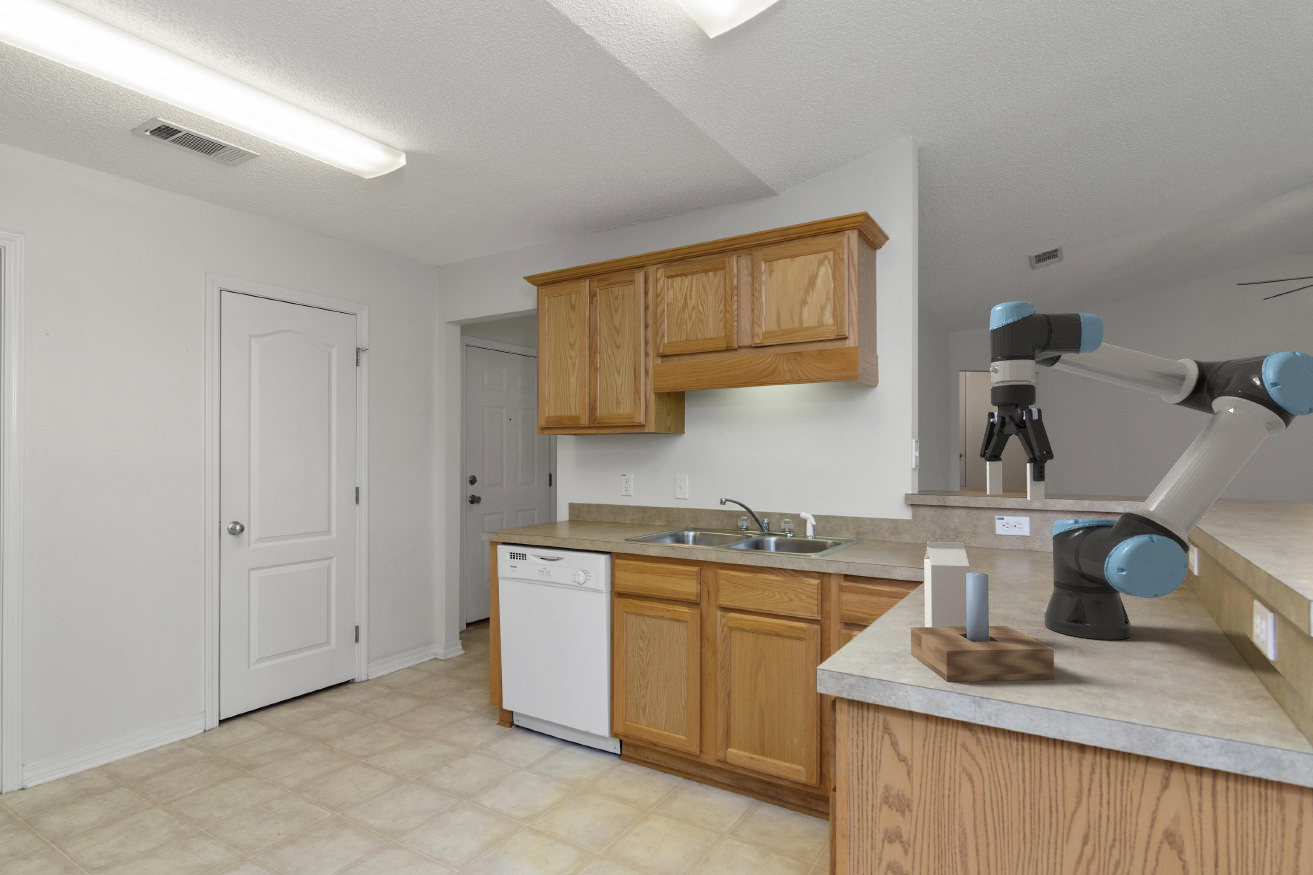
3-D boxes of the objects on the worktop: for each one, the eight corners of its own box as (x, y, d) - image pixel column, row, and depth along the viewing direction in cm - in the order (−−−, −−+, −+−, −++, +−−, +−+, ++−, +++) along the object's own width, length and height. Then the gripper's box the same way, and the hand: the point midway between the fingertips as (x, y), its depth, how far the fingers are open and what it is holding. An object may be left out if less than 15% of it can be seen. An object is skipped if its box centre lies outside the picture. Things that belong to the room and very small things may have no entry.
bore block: (1006, 652, 124) (1006, 625, 124) (1054, 679, 110) (1053, 648, 110) (911, 654, 124) (910, 627, 124) (946, 681, 110) (946, 650, 110)
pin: (982, 656, 119) (981, 572, 119) (993, 663, 115) (992, 576, 116) (963, 657, 119) (962, 572, 119) (973, 663, 115) (972, 576, 116)
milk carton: (970, 642, 131) (969, 545, 131) (931, 640, 132) (930, 544, 133) (961, 632, 138) (960, 540, 138) (924, 631, 139) (923, 539, 140)
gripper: (961, 390, 139) (962, 492, 139) (1032, 378, 114) (1034, 502, 114) (996, 390, 140) (997, 492, 139) (1075, 378, 115) (1077, 502, 115)
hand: (1014, 497), depth 127 cm, fingers open, 13 cm apart
